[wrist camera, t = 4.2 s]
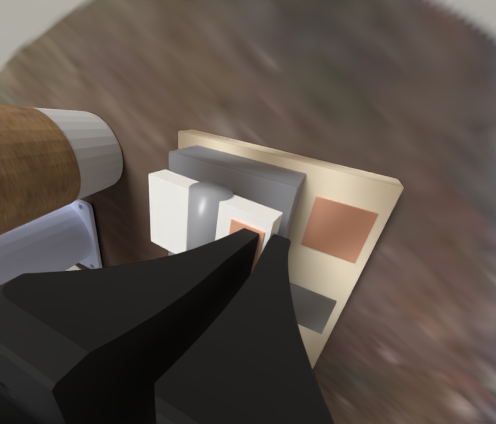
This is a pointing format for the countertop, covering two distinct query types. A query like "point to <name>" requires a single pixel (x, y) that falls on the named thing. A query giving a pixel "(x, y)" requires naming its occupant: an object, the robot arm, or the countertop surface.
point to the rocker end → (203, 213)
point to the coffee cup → (52, 161)
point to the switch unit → (301, 217)
